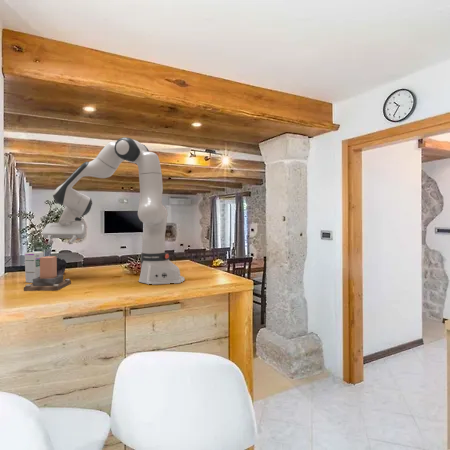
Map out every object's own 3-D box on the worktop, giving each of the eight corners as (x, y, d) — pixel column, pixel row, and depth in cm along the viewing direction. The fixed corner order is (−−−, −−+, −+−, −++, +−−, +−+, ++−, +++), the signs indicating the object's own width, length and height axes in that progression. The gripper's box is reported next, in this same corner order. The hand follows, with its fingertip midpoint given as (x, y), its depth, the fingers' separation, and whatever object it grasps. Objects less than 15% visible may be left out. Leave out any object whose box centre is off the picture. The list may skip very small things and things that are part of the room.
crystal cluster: (31, 277, 168) (31, 259, 166) (51, 271, 181) (51, 254, 180) (53, 281, 165) (53, 262, 163) (71, 274, 178) (71, 256, 176)
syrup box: (35, 283, 152) (35, 252, 151) (24, 282, 153) (24, 252, 152) (44, 280, 157) (44, 251, 157) (34, 280, 158) (33, 250, 158)
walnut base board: (70, 283, 151) (70, 274, 151) (57, 290, 137) (57, 280, 137) (40, 283, 150) (40, 274, 150) (23, 290, 136) (23, 280, 136)
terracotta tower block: (56, 282, 146) (56, 256, 146) (51, 284, 141) (51, 257, 141) (45, 282, 146) (45, 256, 146) (40, 284, 141) (39, 257, 141)
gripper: (45, 218, 162) (35, 239, 152) (86, 218, 163) (79, 239, 154) (49, 226, 166) (40, 247, 157) (89, 227, 168) (83, 247, 158)
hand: (60, 243), depth 155 cm, fingers open, 8 cm apart
